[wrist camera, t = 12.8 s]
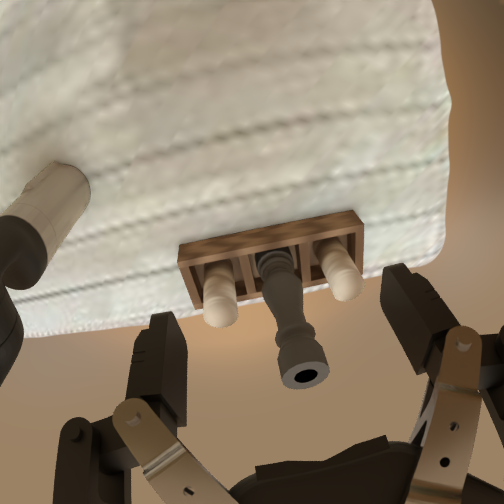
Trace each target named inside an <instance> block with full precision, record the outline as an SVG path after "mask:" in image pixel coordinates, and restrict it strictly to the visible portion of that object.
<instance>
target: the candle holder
mask: <svg viewBox="0 0 504 504" xmlns="http://www.w3.org/2000/svg"><path fill="white" fill-rule="evenodd" d="M254 258H255V262H256V267H257V271H258V273H259V275H260V277H261V280H263V281H264V283H263V287H262V295H263V298H264V300H265V302H266V304H267V305H268V307H269V309H270V310H271V312H272V313H273V315H274V317H275V318H276V322H277V326H278V332H277V333H276V337H275V341H276V344H277V346H278V347H279V348H280V351H279V356H278V359H277V360H278V365H279V369H280V374H281V379H282V382H283V384H284V385H285V386H286V387H288V388H291V389H306V388H309V387H313V386H315V385H317V384H319V383H321V382H322V381H323V380H324V379H325V378H327V376H328V374H329V372H330V371H329V366H328V363H327V360H326V357H325V354H324V351H323V348H322V346H321V345H320V344H319V343H318V342H317V341H316V340H315V339H314V337H315V330H314V327H313V326H312V325H310V324H309V323H307V322H306V320H305V316H304V313H303V286H302V282H301V280H300V279H299V278H298V277H297V276H296V275H295V274H294V270H295V268H294V261H293V257H292V254H291V252H290V249H289V247H288V246H286V247H281V248H276V249H272V250H267V251H262V252H257V253H255V257H254Z"/></svg>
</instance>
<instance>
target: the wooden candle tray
mask: <svg viewBox="0 0 504 504" xmlns="http://www.w3.org/2000/svg"><path fill="white" fill-rule="evenodd" d="M286 246H288V247H289V249H290V252H291V254H292V257H293V261H294V268H295V270H294V274H295V275H296V276H297V277H298V278H299V279H300V280H301V282H302V286H303V288H306V287H311V286H315V285H320V284H324V283H328V284H329V286H330V288H331V290H332V292H333V295H334V297H335V298H336V299H337V300H340V301H349V300H352V299H354V298H356V297H357V296H359V295H360V294H361V292H362V291H363V289H364V287H365V282H364V279H363V277H362V276H361V275H363V251H364V223H363V222H362V221H361V220H360V218H359V217H358V216H357V215H356V213H355V212H354V211H353V210H350V211H345V212H340V213H335V214H329V215H324V216H319V217H314V218H309V219H304V220H298V221H293V222H288V223H283V224H278V225H273V226H268V227H263V228H259V229H254V230H249V231H244V232H239V233H234V234H229V235H225V236H220V237H215V238H210V239H206V240H201V241H196V242H192V243H187V244H182V245H179V252H178V260H177V263H178V266H179V269H180V271H181V274H182V277H183V279H184V282H185V285H186V287H187V290H188V292H189V295H190V298H191V300H192V303H193V305H194V308H195V310H197V309H202V308H203V317H204V320H205V321H206V322H207V323H208V324H209V325H211V326H213V327H218V328H223V327H228V326H230V325H232V324H233V323H234V322H236V320H237V318H238V308H237V302H239V301H244V300H249V299H254V298H259V297H263V295H262V287H263V283H264V281H263V280H261V277H260V275H259V273H258V271H257V267H256V262H255V258H254V257H255V253H257V252H262V251H267V250H272V249H276V248H281V247H286Z"/></svg>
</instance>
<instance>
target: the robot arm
mask: <svg viewBox="0 0 504 504" xmlns="http://www.w3.org/2000/svg"><path fill="white" fill-rule="evenodd" d="M89 200H90V187H89V184H88V181H87V179H86V178H85V176H84V175H83V174H82V173H81V172H80V171H79V170H78V169H76V168H75V167H73V166H69V165H61V164H58V163H57V162H55V161H54V162H53V163H51V164H50V165H49V166H48V167H46V168H45V169H44V170H43V171H41V172H40V173H39V174H38V175H37V176H35V177H34V178H33V179H32V180H31V181H30V182H28V183H27V184H26V186H25V188H24V190H23V192H22V194H21V196H19V197H18V198H17V199H16V200H15V201H14V202H13V203H12V204H11V205H10V206H9V207H8V208H7V209H6V210H5V211H4V212H3V213H2V214H1V215H0V386H1V384H2V383H3V381H4V379H5V378H6V376H7V374H8V372H9V371H10V369H11V367H12V365H13V364H14V362H15V360H16V358H17V356H18V353H19V351H20V349H21V346H22V342H23V337H24V328H23V324H22V321H21V318H20V316H19V314H18V312H17V310H16V308H15V306H14V304H13V302H12V300H11V298H10V296H9V294H8V291H7V289H6V287H8V288H11V289H15V290H25V289H29V288H31V287H33V286H34V285H35V284H36V283H37V282H38V281H39V279H40V278H41V276H42V274H43V273H44V271H45V269H46V267H47V266H48V264H49V262H50V261H51V259H52V258H53V256H54V254H55V253H56V251H57V250H58V248H59V247H60V245H61V244H62V242H63V241H64V239H65V237H66V236H67V235H68V233H69V232H70V230H71V229H72V227H73V226H74V224H75V223H76V221H77V220H78V218H79V217H80V216H81V215H82V213H83V212H84V210H85V209H86V207H87V205H88V203H89ZM5 286H6V287H5ZM380 302H381V307H382V310H383V312H384V314H385V316H386V318H387V320H388V321H389V323H390V325H391V327H392V329H393V330H394V332H395V334H396V336H397V338H398V340H399V342H400V344H401V345H402V347H403V349H404V351H405V353H406V355H407V357H408V359H409V360H410V363H411V365H412V366H413V369H414V371H415V372H416V375H419V374H422V373H425V372H427V374H428V376H429V379H428V382H427V386H426V390H425V393H424V397H423V401H422V405H421V408H420V412H419V415H418V419H417V422H416V424H415V427H414V429H413V431H412V434H411V436H410V439H409V441H408V443H406V442H399V441H389V442H388V440H387V437H386V435H383V436H380V437H377V438H374V439H371V440H368V441H365V442H362V443H358V444H355V445H353V446H352V447H350V448H348V449H346V450H344V451H342V452H341V453H339V454H337V455H335V456H333V457H331V458H329V459H327V460H324V461H284V462H278V463H273V464H267V465H260V466H255V470H256V473H255V474H252V475H250V476H248V477H246V478H244V479H243V480H241V481H240V482H238V483H237V484H236V485H234V487H232V488H231V489H230V490H227V489H226V488H225V487H224V486H223V485H222V484H221V483H220V482H219V481H218V480H217V479H216V478H215V477H214V476H213V475H212V474H211V473H210V472H209V471H208V470H207V469H206V468H205V467H204V466H203V465H202V464H201V463H200V462H199V461H198V460H197V459H196V458H195V457H194V456H193V455H192V453H191V452H190V451H189V450H188V449H187V448H186V447H185V446H184V445H183V444H182V442H181V441H180V440H179V439H178V438H177V427H185V426H186V425H187V424H186V422H187V416H186V415H187V414H186V413H187V410H186V409H187V358H188V351H187V344H186V340H185V338H184V335H183V333H182V331H181V329H180V327H179V325H178V323H177V320H176V318H175V316H174V314H173V312H171V311H169V312H163V313H157V314H152V315H151V319H150V325H149V329H145V330H141V332H140V334H139V336H138V337H137V338H136V340H135V343H134V349H133V355H132V360H131V363H132V364H131V366H130V372H129V378H128V385H127V391H126V397H125V400H124V401H123V402H121V403H120V404H119V405H118V406H117V407H116V409H115V411H114V412H113V415H112V416H110V417H108V418H105V419H102V420H99V421H96V422H93V423H90V422H89V421H88V420H86V419H85V418H81V417H76V418H72V419H70V420H69V421H67V422H66V423H65V425H64V426H63V428H62V430H61V433H60V439H59V445H58V453H57V461H56V470H55V480H54V492H53V504H131V468H134V467H137V466H140V465H141V467H142V468H143V470H144V472H143V474H144V476H145V478H146V479H147V481H148V482H149V484H150V485H151V486H152V487H153V489H154V490H155V491H156V493H157V494H158V495H159V496H160V497H161V499H162V500H163V501H164V502H165V503H166V504H504V491H503V490H501V489H499V488H497V487H495V486H493V485H491V484H489V483H487V482H485V481H483V480H481V479H479V478H477V477H475V476H473V475H471V474H469V473H467V471H468V467H469V463H470V459H471V455H472V451H473V446H474V442H475V437H476V432H477V426H478V421H479V415H480V408H481V402H482V398H483V400H484V403H485V405H486V407H487V409H488V411H489V413H490V416H491V418H492V420H493V423H494V425H495V427H496V430H497V432H498V434H499V437H500V439H501V442H502V445H503V447H504V326H502V328H501V330H500V332H499V334H487V335H479V334H478V333H477V332H476V331H475V330H474V329H472V328H470V327H467V326H461V325H460V324H459V322H458V321H457V319H456V318H455V316H454V315H453V314H452V312H451V311H450V310H449V308H448V307H447V305H446V304H445V302H444V301H443V300H442V298H440V296H439V294H438V293H437V292H436V291H435V290H434V288H433V286H432V285H431V284H430V282H429V281H428V280H427V279H426V278H424V277H423V276H421V275H420V274H418V273H413V274H412V273H411V272H410V271H409V269H408V268H407V267H406V265H405V264H404V263H398V264H394V265H390V266H386V267H384V269H383V274H382V284H381V293H380ZM478 390H479V392H480V393H479V392H478Z"/></svg>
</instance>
